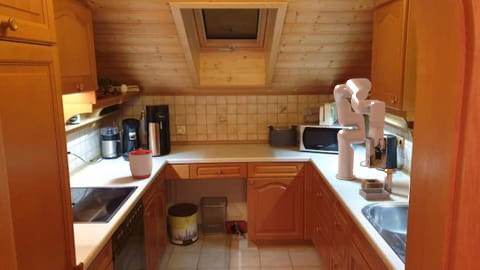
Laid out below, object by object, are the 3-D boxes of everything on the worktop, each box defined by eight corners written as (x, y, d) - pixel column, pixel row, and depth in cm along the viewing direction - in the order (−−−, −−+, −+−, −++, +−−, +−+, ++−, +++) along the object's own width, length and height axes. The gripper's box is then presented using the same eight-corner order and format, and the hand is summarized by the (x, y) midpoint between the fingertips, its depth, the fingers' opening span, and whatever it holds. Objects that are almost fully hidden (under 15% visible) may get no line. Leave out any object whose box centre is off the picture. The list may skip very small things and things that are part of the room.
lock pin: (382, 191, 215) (383, 169, 213) (389, 191, 216) (390, 168, 213) (385, 193, 211) (386, 170, 209) (392, 193, 212) (393, 170, 210)
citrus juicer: (130, 174, 263) (128, 145, 260) (155, 173, 264) (154, 145, 260) (124, 180, 248) (122, 150, 245) (150, 179, 248) (149, 149, 245)
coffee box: (381, 165, 207) (382, 136, 205) (386, 168, 201) (387, 138, 198) (364, 165, 207) (365, 136, 204) (369, 168, 201) (370, 138, 198)
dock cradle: (359, 194, 211) (359, 188, 211) (382, 193, 212) (382, 188, 211) (365, 199, 201) (365, 194, 201) (389, 199, 202) (389, 193, 201)
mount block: (361, 187, 223) (361, 179, 223) (376, 187, 224) (376, 178, 223) (366, 192, 214) (367, 183, 214) (382, 191, 215) (382, 183, 214)
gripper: (364, 122, 209) (363, 154, 212) (376, 127, 192) (375, 161, 194) (377, 122, 209) (376, 154, 212) (391, 126, 192) (389, 161, 195)
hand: (375, 157), depth 203 cm, fingers closed on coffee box, 6 cm apart
